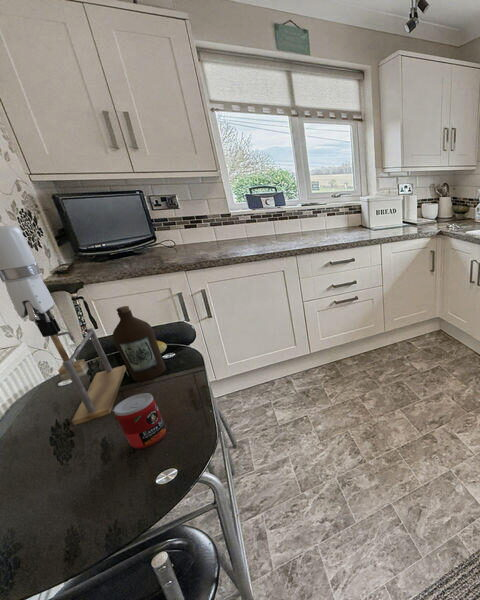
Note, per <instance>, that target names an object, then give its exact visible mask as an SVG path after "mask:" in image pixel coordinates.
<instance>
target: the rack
mask: <svg viewBox="0 0 480 600" xmlns="http://www.w3.org/2000/svg"><path fill="white" fill-rule="evenodd" d="M86 332H87V334H86V335H85V336H84V338H83V339H82V340H81V342H80V344H79V345H78V346H77V347H76V349H75V350H74V352H73V353H72V354H71V356H70V357H69V360H67V361H64V362H63V361H62V365H63V366H64V367H65V369H66V371H67V373H68V375H69V377H70V379H69V380H70V381H71V382H72V385H73V387H74V388H75V390H76V393H77V394H78V397H79V398H80V400H81V403H80V404H79V407H78V408H77V410H76V412H75V414H74V415H73V418H72V420H71V422H72V425H73V426H77V425H80V424H82V423H85V422H89V421H91V420H95V419H98V418H101V417H104V416H106V415H109V414H111V413H112V410H113V408H114V404H115V401H116V398H117V396H118V393H119V390H120V388H121V384H122V382H123V379H124V376H125V374H126V371H127V366H126V364H125V365H124V364H123V365H121V366H116V367H113V368H112V366H111V364H110V361H109V360H108V356H107V355H106V353H105V351H104V349H103V347H102V344H101V343H100V340H99V337H98V336H97V334H96V332H95V330H94V328H93V327H91V328H90V327H89V328H87V329H86ZM89 339H90V340H91V342H92V345H93V346H94V349H95V351H96V353H97V355H98V357H99V359H100V361H101V363H102V365H103V367H104V370H103V371H99V372H96V373H95V374H94V377H93V379H92V381H91V383H90V385H89V387H88V389H87V390H86V388H85V386H84V384H83V381H82V380H81V378H80V376H78V374H77V373H76V371H75V369H74V367H73V365H72V362H74V361H75V359H76V358H77V357H78V355H79V354H80V352H81V351H82V349H83V348H84V347H85V345H86V344H87V342H88V341H89ZM124 373H125V374H124ZM111 409H112V410H111Z"/></svg>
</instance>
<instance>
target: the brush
mask: <svg viewBox="0 0 480 600" xmlns="http://www.w3.org/2000/svg"><path fill="white" fill-rule="evenodd" d="M64 335H68V337H69V339H70V340H71V341H75V337H74V335H73V333H72V331H69V330H67V331H63V332H58V334H56V335H52V336H49V337H50V340H51V341H52V343H53V345H54V346H55V348H56V350H57V353H58V354H59V355H60V356H59V357H60V358H61V360H62V363H63V362H64V361H67V360H69V359H70V357H69V355H68V353H67V351H66V349H65V348H64V345H63V344H62V341H61V339H60V338H59V337H61V336H64ZM72 365H73V367H74V369H75V371H76V373H77V374H78V376H79V377H83V376H85V375H87V372H88V371H89V366H88V364H87V362H86V361H85V359H84V358H82V359H77V360H74V361H73V362H72ZM58 373H59V376H60V377H61V379H62V381H64V382H65V381H69V380H71V379H70V377H69V375H68V373H67V371H66V369H65V367H64V366H63V364H62V365H61V366H60V367H59V368H58Z"/></svg>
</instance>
